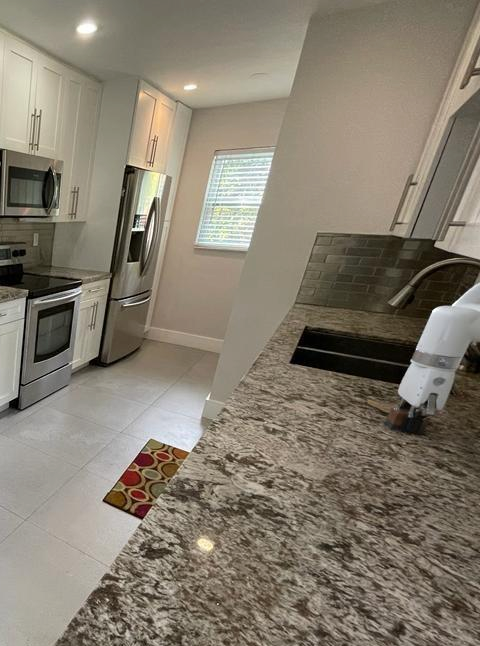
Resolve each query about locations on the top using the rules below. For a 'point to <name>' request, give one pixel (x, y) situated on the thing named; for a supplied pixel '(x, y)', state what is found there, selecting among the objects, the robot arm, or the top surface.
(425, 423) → the eraser
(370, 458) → the top surface
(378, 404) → the shard
